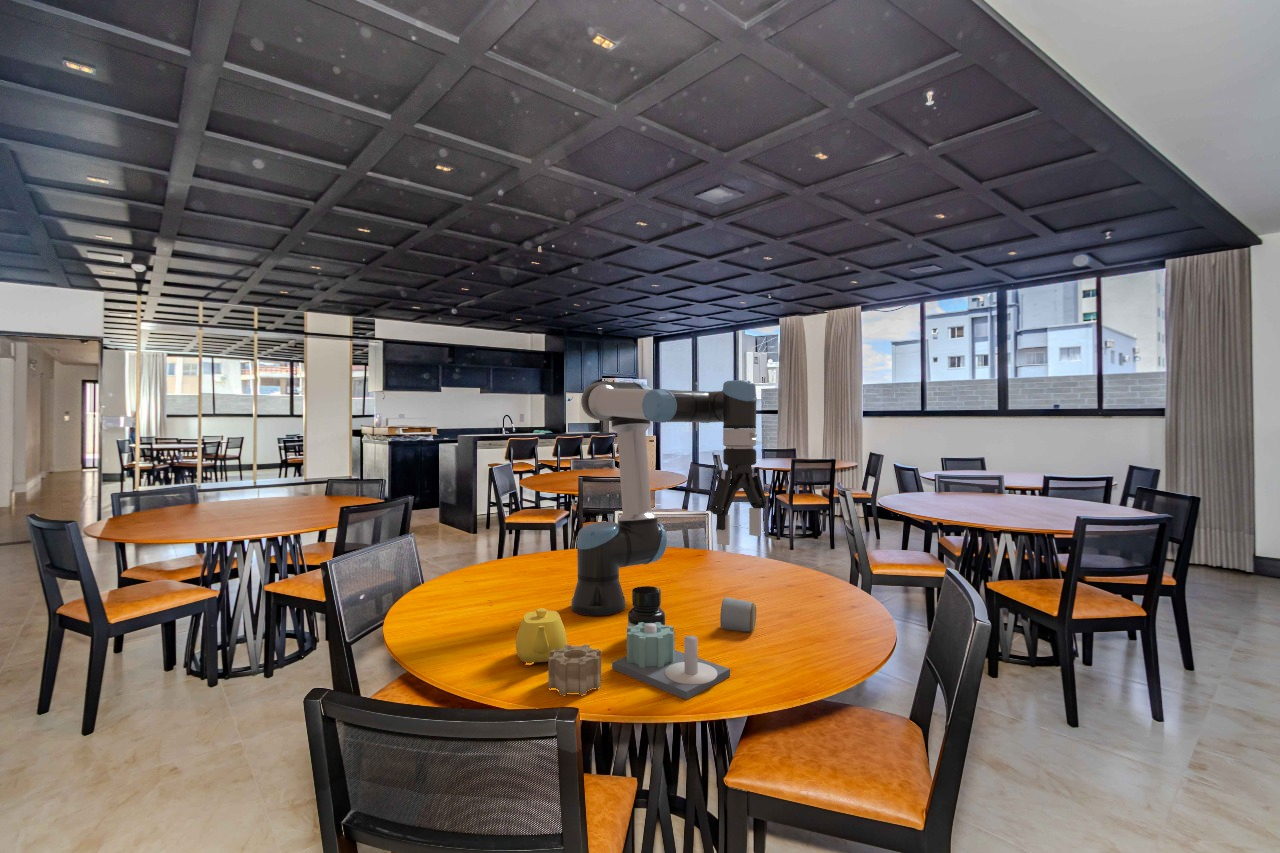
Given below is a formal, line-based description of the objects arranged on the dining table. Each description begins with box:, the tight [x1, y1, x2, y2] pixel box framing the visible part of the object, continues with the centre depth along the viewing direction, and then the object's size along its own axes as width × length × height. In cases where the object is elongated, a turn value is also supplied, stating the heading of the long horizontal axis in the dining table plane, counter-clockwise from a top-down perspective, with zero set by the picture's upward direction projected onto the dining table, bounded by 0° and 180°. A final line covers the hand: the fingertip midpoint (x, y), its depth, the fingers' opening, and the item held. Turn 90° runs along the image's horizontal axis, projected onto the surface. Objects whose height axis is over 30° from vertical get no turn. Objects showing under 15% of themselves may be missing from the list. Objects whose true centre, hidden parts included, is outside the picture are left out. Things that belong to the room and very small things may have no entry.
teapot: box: [515, 607, 568, 663], centre depth 126 cm, size 18×11×11 cm, turn 9°
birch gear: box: [547, 644, 602, 696], centre depth 113 cm, size 10×10×6 cm
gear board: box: [611, 622, 731, 701], centre depth 118 cm, size 21×14×8 cm, turn 46°
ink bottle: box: [627, 585, 666, 627], centre depth 137 cm, size 10×9×12 cm
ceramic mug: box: [719, 596, 757, 633], centre depth 145 cm, size 11×8×8 cm
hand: (739, 539), depth 133 cm, fingers open, 13 cm apart
